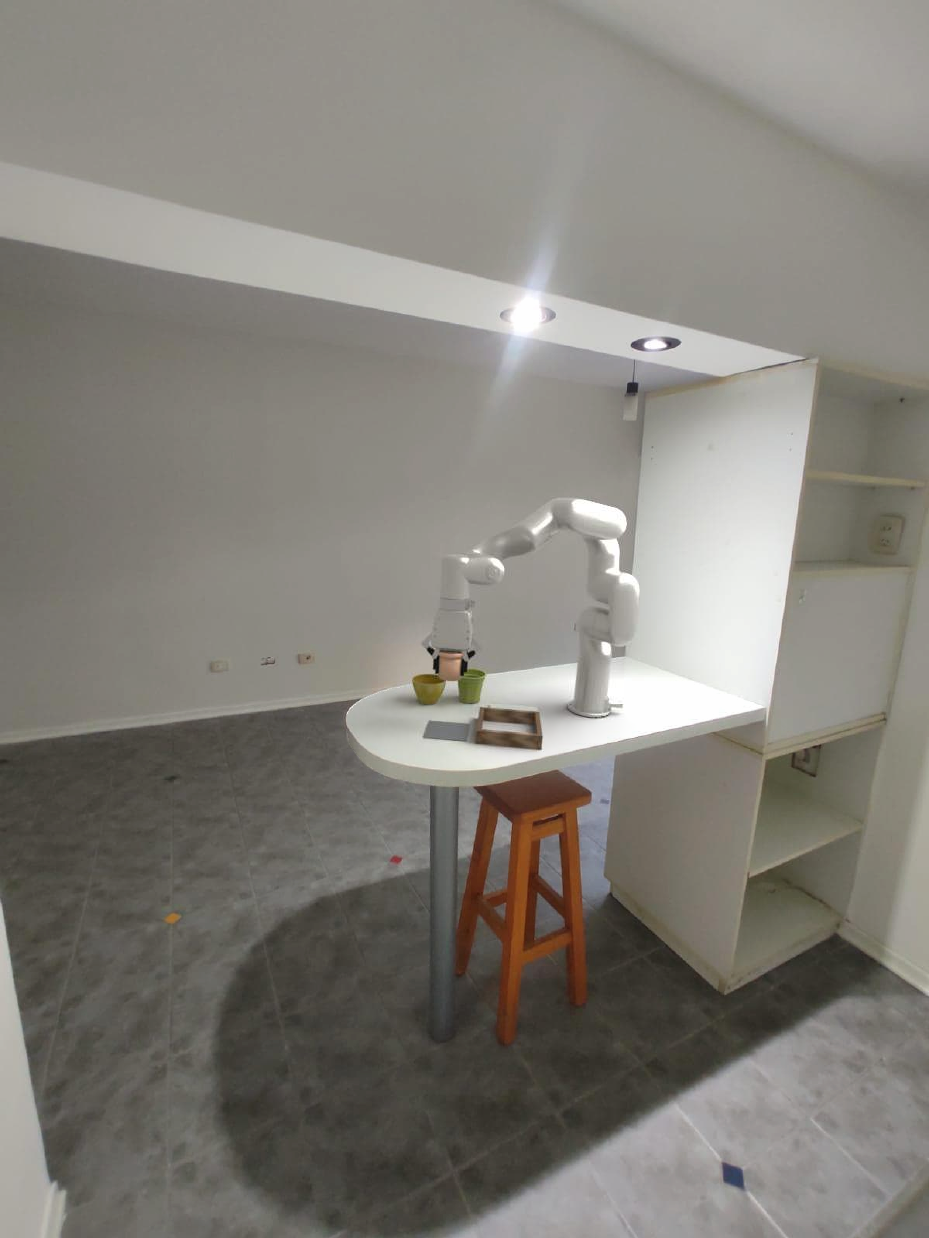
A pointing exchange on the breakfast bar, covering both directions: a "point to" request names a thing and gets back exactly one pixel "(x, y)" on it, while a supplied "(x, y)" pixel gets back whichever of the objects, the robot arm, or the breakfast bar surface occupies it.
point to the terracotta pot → (450, 664)
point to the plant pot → (471, 685)
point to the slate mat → (447, 730)
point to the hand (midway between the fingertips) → (449, 673)
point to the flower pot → (428, 688)
